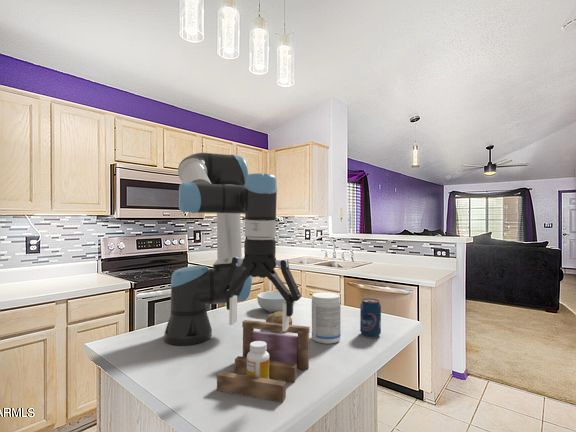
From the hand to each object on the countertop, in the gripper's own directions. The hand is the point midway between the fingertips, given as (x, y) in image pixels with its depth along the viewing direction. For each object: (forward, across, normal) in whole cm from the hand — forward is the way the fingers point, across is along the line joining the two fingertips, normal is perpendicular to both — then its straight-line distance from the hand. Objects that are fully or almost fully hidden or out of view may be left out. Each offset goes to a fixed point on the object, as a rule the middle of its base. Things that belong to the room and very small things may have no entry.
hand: (258, 326), depth 79 cm
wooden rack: (+14, 0, +4) cm, 14 cm away
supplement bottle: (+14, 0, 0) cm, 14 cm away
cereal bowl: (+15, -17, +63) cm, 66 cm away
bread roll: (+15, -8, +41) cm, 44 cm away
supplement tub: (+14, +10, +35) cm, 39 cm away
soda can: (+14, +24, +44) cm, 52 cm away
